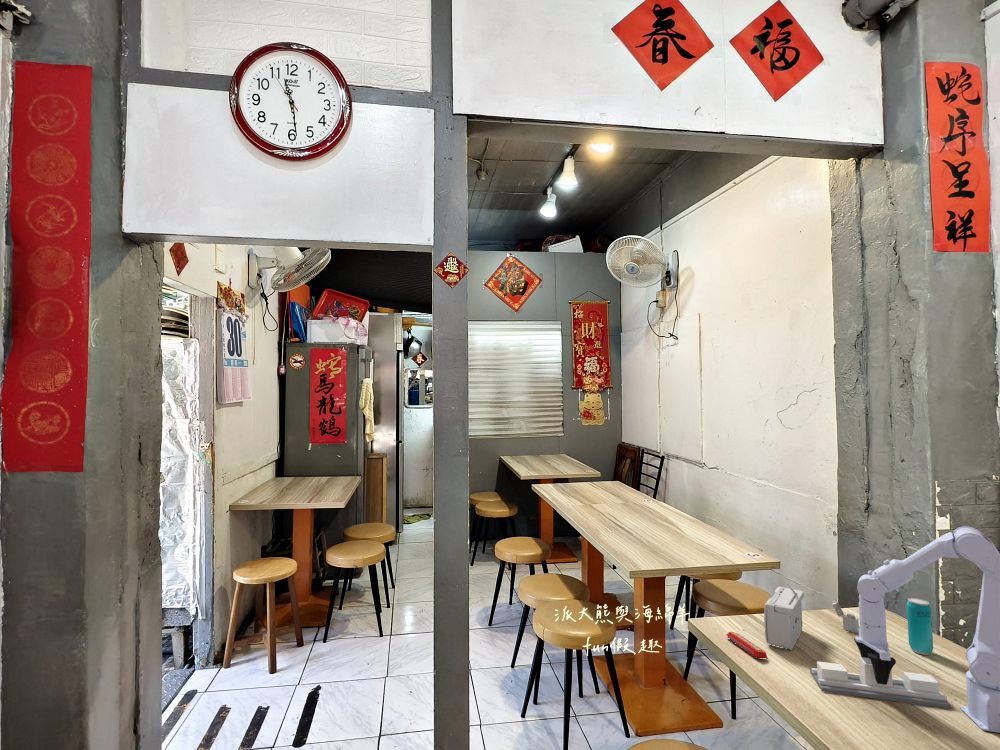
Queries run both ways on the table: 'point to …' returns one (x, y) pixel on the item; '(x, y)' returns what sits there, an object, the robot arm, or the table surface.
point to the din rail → (880, 691)
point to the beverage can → (920, 626)
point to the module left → (832, 671)
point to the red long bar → (747, 645)
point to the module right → (920, 683)
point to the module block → (871, 674)
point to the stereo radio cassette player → (783, 617)
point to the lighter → (847, 619)
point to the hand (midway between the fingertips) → (875, 676)
